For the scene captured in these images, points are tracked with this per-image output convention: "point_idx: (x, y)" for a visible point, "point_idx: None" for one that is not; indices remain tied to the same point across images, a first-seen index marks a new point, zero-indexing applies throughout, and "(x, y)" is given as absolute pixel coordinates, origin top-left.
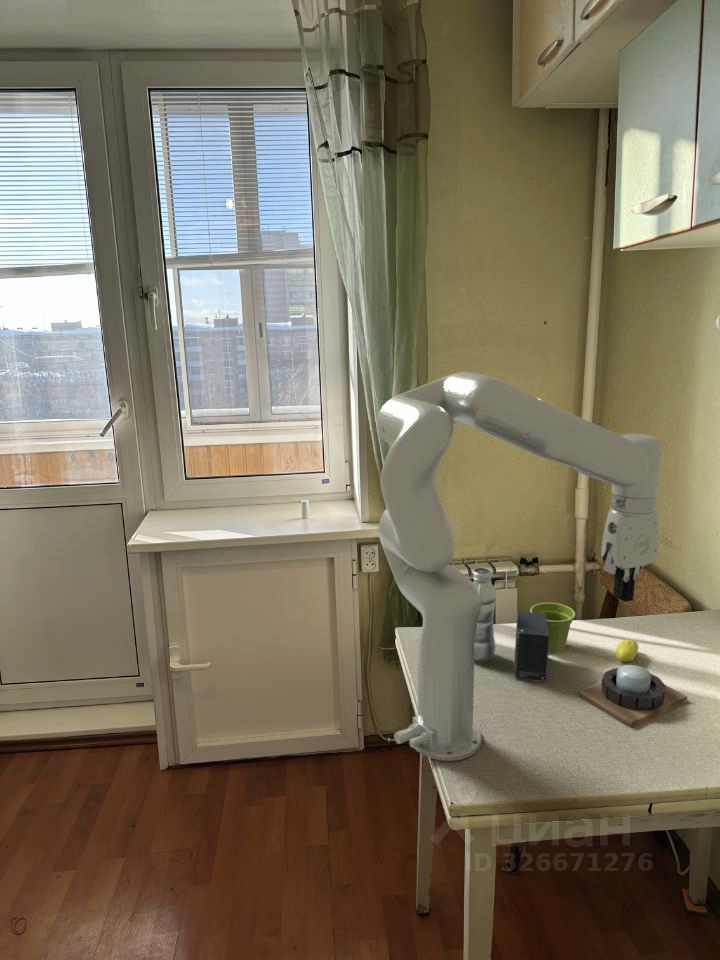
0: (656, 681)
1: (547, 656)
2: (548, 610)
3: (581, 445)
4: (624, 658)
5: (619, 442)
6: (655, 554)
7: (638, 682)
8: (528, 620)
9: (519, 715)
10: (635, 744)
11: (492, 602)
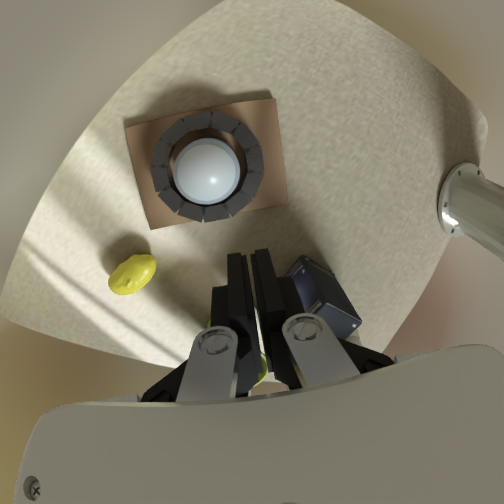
0: (163, 156)
1: (310, 279)
2: None
3: None
4: (150, 256)
5: None
6: (36, 453)
7: (221, 142)
8: None
9: (387, 198)
10: (297, 66)
11: None
